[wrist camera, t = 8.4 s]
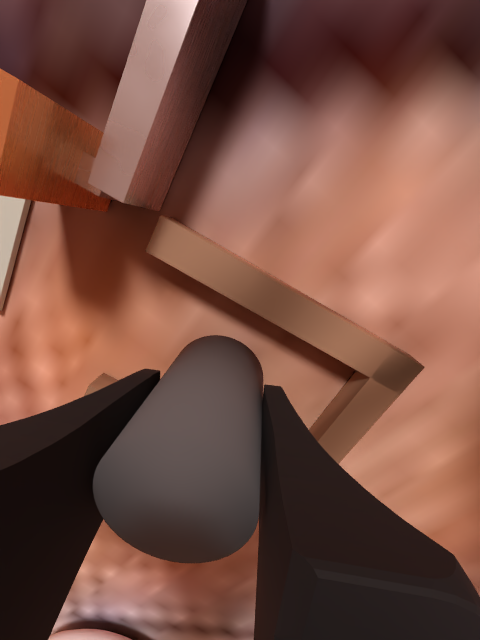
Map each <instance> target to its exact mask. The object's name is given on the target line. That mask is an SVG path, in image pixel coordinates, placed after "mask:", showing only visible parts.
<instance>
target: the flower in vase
mask: <svg viewBox="0 0 480 640" xmlns="http://www.w3.org/2000/svg"><path fill="white" fill-rule="evenodd" d="M48 640H132V639H130V638H127V637H125V636H122V635H120V634H117V633H114V632H110V631H106V630H99V629H75V630H66V631H62V632H58V633H55V634H53V635H51V636H49V639H48Z"/></svg>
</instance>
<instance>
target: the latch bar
mask: <svg viewBox="0 0 480 640" xmlns="http://www.w3.org/2000/svg"><path fill="white" fill-rule="evenodd" d="M246 3H247V0H147V1H146V4H145V7H144V10H143V13H142V16H141V19H140V22H139V26H138V29H137V32H136V35H135V38H134V41H133V44H132V47H131V50H130V53H129V57H128V60H127V63H126V66H125V69H124V72H123V75H122V78H121V81H120V84H119V87H118V91H117V94H116V97H115V100H114V103H113V106H112V109H111V112H110V115H109V118H108V122H107V125H106V128H105V131H104V133H103V132H101V131H100V130H98V129H96V128H95V127H93V126H92V125H90V124H89V123H87V122H85V121H84V120H82V119H81V118H79V117H77V116H76V115H74V114H73V113H71V112H69V111H68V110H66V109H65V108H63V107H62V106H60V105H58V104H57V103H55V102H54V101H52V100H50V99H49V98H47V97H46V96H44V95H43V94H41V93H39V92H38V91H36V90H35V89H33V88H31V87H30V86H28V85H27V84H25V83H23V82H22V81H20V80H19V79H17V78H15V77H14V76H12V75H10V74H9V73H7V72H5V71H3V70H2V69H0V196H7V197H14V198H20V199H27V200H33V201H40V202H47V203H53V204H60V205H67V206H73V207H80V208H86V209H93V210H100V211H106V212H107V209H108V207H109V204H110V201H111V200H116V201H120V202H122V203H125V204H130V205H134V206H138V207H143V208H147V209H151V210H156V211H160V209H161V206H162V204H163V201H164V199H165V197H166V194H167V192H168V190H169V187H170V185H171V182H172V180H173V178H174V175H175V173H176V170H177V168H178V166H179V163H180V161H181V158H182V156H183V154H184V151H185V149H186V146H187V144H188V142H189V139H190V137H191V134H192V132H193V130H194V127H195V125H196V122H197V120H198V118H199V115H200V113H201V110H202V108H203V106H204V103H205V101H206V99H207V96H208V94H209V91H210V89H211V87H212V84H213V82H214V79H215V77H216V75H217V72H218V70H219V67H220V65H221V63H222V60H223V58H224V55H225V53H226V51H227V48H228V46H229V43H230V41H231V39H232V36H233V34H234V31H235V29H236V27H237V24H238V22H239V19H240V17H241V15H242V12H243V10H244V8H245V5H246Z"/></svg>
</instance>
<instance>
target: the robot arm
mask: <svg viewBox="0 0 480 640" xmlns="http://www.w3.org/2000/svg"><path fill="white" fill-rule="evenodd" d="M159 381H160V371H158V370H151V369H143V370H140V371H138V372H136V373H133V374H131V375H129V376H127V377H125V378H123V379H121V380H119V381H117V382H115V383H112V384H110V385H108V386H106V387H104V388H102V389H100V390H98V391H95V392H93V393H91V394H88V395H86V396H84V397H82V398H79V399H77V400H75V401H72V402H70V403H67V404H65V405H62V406H60V407H57V408H54V409H52V410H49V411H46V412H43V413H40V414H37V415H34V416H31V417H28V418H25V419H21V420H18V421H14V422H11V423H7V424H4V425H0V640H48V639H49V636H50V634H51V632H52V629H53V627H54V625H55V622H56V620H57V618H58V616H59V613H60V611H61V609H62V607H63V604H64V602H65V600H66V598H67V595H68V593H69V591H70V589H71V586H72V584H73V582H74V580H75V577H76V575H77V573H78V571H79V569H80V567H81V564H82V562H83V560H84V558H85V556H86V554H87V552H88V549H89V547H90V545H91V543H92V541H93V539H94V537H95V535H96V533H97V531H98V529H99V527H100V525H101V523H102V521H103V517H102V516H101V514H100V512H99V510H98V508H97V505H96V502H95V499H94V494H93V478H94V473H95V470H96V468H97V465H98V464H99V462H100V460H101V459H102V457H103V456H104V455H105V453H106V452H107V451H108V449H109V448H110V447H111V445H112V444H113V443H114V441H115V440H116V439H117V437H118V436H119V434H120V433H121V432H122V430H123V429H124V428H125V426H126V425H127V424H128V422H129V421H130V420H131V418H132V417H133V416H134V414H135V413H136V412H137V410H138V409H139V408H140V406H141V405H142V404H143V402H144V401H145V400H146V398H147V397H148V396H149V394H150V393H151V391H152V390H153V389H154V387H155V386H156V385H157V383H158V382H159ZM254 640H480V597H479V595H478V593H477V591H476V590H475V588H474V586H473V584H472V583H471V581H470V579H469V578H468V576H467V575H466V573H465V572H464V570H463V568H462V567H461V565H460V564H459V562H458V561H457V559H456V558H455V556H454V555H453V554H452V553H450V552H449V551H448V550H446V549H445V548H443V547H442V546H440V545H439V544H437V543H436V542H435V541H433V540H432V539H430V538H429V537H427V536H426V535H425V534H423V533H422V532H420V531H419V530H417V529H416V528H414V527H413V526H412V525H410V524H409V523H407V522H406V521H405V520H403V519H402V518H401V517H399V516H398V515H397V514H395V513H394V512H393V511H392V510H390V509H389V508H388V507H386V506H385V505H384V504H383V503H381V502H380V501H379V500H378V499H376V498H375V497H374V496H373V495H372V494H370V493H369V492H368V491H367V490H366V489H364V488H363V487H362V486H361V485H360V484H359V483H358V482H357V481H356V480H355V479H353V478H352V477H351V476H350V475H349V474H348V473H347V472H346V471H345V470H344V469H343V468H342V467H341V466H340V465H339V464H338V463H337V462H336V461H335V460H334V459H333V458H332V457H331V456H330V455H329V454H328V453H327V452H326V451H325V450H324V448H323V447H322V446H321V445H320V444H319V443H318V441H317V440H316V439H315V438H314V436H313V435H312V434H311V432H310V431H309V430H308V428H307V427H306V426H305V424H304V423H303V421H302V420H301V418H300V417H299V416H298V414H297V413H296V411H295V409H294V408H293V406H292V405H291V403H290V401H289V399H288V398H287V396H286V394H285V392H284V390H283V389H282V388H281V387H280V386H272V385H264V393H263V400H262V438H261V470H260V502H259V547H258V569H257V589H256V609H255V628H254Z"/></svg>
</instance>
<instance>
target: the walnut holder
mask: <svg viewBox="0 0 480 640" xmlns="http://www.w3.org/2000/svg"><path fill="white" fill-rule="evenodd" d="M146 252H148V253H149V254H151V255H153V256H155V257H157V258H158V259H160V260H162V261H164V262H165V263H167V264H169V265H171V266H173V267H174V268H176V269H178V270H180V271H181V272H183V273H185V274H187V275H189V276H190V277H192V278H194V279H196V280H197V281H199V282H201V283H203V284H204V285H206V286H208V287H210V288H212V289H213V290H215V291H217V292H219V293H220V294H222V295H224V296H226V297H228V298H229V299H231V300H233V301H235V302H236V303H238V304H240V305H242V306H244V307H245V308H247V309H249V310H251V311H252V312H254V313H256V314H258V315H260V316H261V317H263V318H265V319H267V320H268V321H270V322H272V323H274V324H276V325H277V326H279V327H281V328H283V329H284V330H286V331H288V332H290V333H291V334H293V335H295V336H297V337H299V338H300V339H302V340H304V341H306V342H307V343H309V344H311V345H313V346H315V347H316V348H318V349H320V350H322V351H323V352H325V353H327V354H329V355H331V356H332V357H334V358H336V359H338V360H339V361H341V362H343V363H345V364H347V365H348V366H350V367H352V368H354V369H355V370H356V372H355V373H354V374H353V375H352V377H351V378H350V379H349V380H348V382H347V383H346V384H345V385H344V387H343V388H342V389H341V390H340V392H339V393H338V394H337V395H336V397H335V398H334V399H333V400H332V402H331V403H330V404H329V405H328V407H327V408H326V409H325V410H324V412H323V413H322V414H321V415H320V417H319V418H318V419H317V420H316V422H315V423H314V424H313V426H312V427H311V428H310V429H309V431H310V432H311V434H312V435H313V436H314V438H315V439H316V440H317V441H318V443H319V444H320V445H321V446H322V447H323V448H324V450H325V451H326V452H327V453H328V454H329V455H330V456H331V457H332V458H333V459H334V460H335V461H336V462H337V463H338V464H339V463H340V462H341V461H342V459H343V458H344V457H345V456H346V455H347V454H348V453H349V452H350V450H351V449H352V448H353V447H354V446H355V445H356V444H357V443H358V441H359V440H360V439H361V438H362V437H363V436H364V435H365V434H366V432H367V431H368V430H369V429H370V428H371V427H372V426H373V425H374V423H375V422H376V421H377V420H378V419H379V418H380V417H381V416H382V414H383V413H384V412H385V411H386V410H387V409H388V408H389V407H390V406H391V404H392V403H393V402H394V401H395V400H396V399H397V398H398V397H399V395H400V394H401V393H402V392H403V391H404V390H405V389H406V388H407V386H408V385H409V384H410V383H411V382H412V381H413V380H414V379H415V377H416V376H417V375H418V374H419V373H420V372H421V371H422V370H423V368H424V366H422V365H421V364H420V363H419V362H418V361H416V360H415V359H414V358H413V357H412V356H410V355H409V354H407V353H406V352H404V351H402V350H400V349H399V348H397V347H395V346H393V345H392V344H390V343H388V342H387V341H385V340H383V339H381V338H380V337H378V336H376V335H374V334H373V333H371V332H369V331H367V330H366V329H364V328H362V327H360V326H359V325H357V324H355V323H354V322H352V321H350V320H348V319H347V318H345V317H343V316H341V315H340V314H338V313H336V312H334V311H333V310H331V309H329V308H328V307H326V306H324V305H322V304H321V303H319V302H317V301H315V300H314V299H312V298H310V297H308V296H307V295H305V294H303V293H301V292H300V291H298V290H296V289H295V288H293V287H291V286H289V285H288V284H286V283H284V282H282V281H281V280H279V279H277V278H275V277H274V276H272V275H270V274H269V273H267V272H265V271H263V270H262V269H260V268H258V267H256V266H255V265H253V264H251V263H249V262H248V261H246V260H244V259H242V258H241V257H239V256H237V255H236V254H234V253H232V252H230V251H229V250H227V249H225V248H223V247H222V246H220V245H218V244H216V243H215V242H213V241H211V240H210V239H208V238H206V237H204V236H203V235H201V234H199V233H197V232H196V231H194V230H192V229H190V228H189V227H187V226H185V225H183V224H182V223H180V222H178V221H177V220H175V219H173V218H171V217H167V216H161V215H160V218H159V220H158V222H157V225H156V227H155V229H154V232H153V234H152V237H151V239H150V241H149V244H148V246H147V248H146ZM117 381H118V380H116V379H114V378H112V377H110V376H108V375H106V374H105V373H103V374H102V375H100V376H99V377H98V378H97V379H96V380H95V381H93V382H92V383H91V384H90V385H89V386H88V389H87V391H86V393H85V396H86V395H88V394H91V393H93V392H95V391H98V390H100V389H102V388H104V387H106V386H108V385H110V384H112V383H115V382H117Z"/></svg>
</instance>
